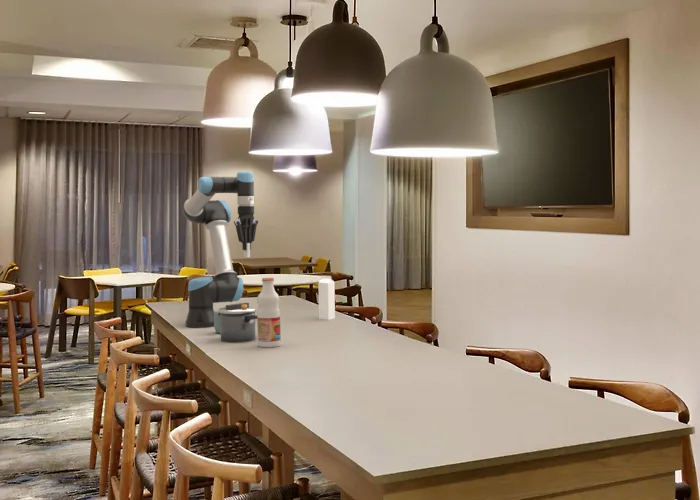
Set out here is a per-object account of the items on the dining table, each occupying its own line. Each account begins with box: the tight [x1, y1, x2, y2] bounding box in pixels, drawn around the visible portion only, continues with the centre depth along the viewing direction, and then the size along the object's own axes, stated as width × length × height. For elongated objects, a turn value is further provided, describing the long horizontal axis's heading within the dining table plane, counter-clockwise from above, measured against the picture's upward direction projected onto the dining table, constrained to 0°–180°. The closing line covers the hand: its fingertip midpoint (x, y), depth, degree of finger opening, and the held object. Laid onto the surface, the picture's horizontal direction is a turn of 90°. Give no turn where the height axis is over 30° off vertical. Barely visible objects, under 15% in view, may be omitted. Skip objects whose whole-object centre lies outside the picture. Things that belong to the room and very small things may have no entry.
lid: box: [218, 302, 257, 314], centre depth 332 cm, size 16×16×3 cm
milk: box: [317, 275, 336, 321], centre depth 388 cm, size 6×6×22 cm
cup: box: [213, 309, 220, 334], centre depth 350 cm, size 8×8×10 cm
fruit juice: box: [256, 277, 282, 348], centre depth 315 cm, size 9×9×28 cm
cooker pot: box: [219, 312, 257, 343], centre depth 332 cm, size 15×20×12 cm
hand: (246, 257), depth 352 cm, fingers closed
